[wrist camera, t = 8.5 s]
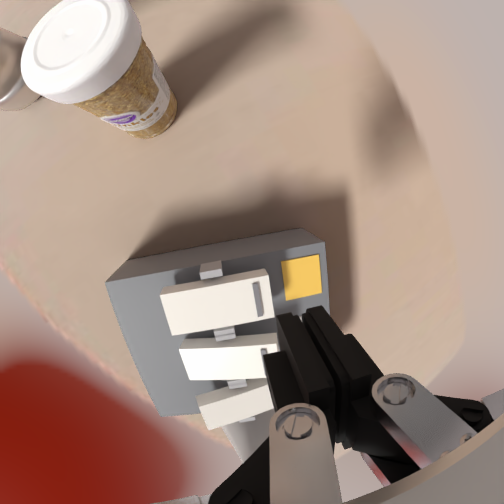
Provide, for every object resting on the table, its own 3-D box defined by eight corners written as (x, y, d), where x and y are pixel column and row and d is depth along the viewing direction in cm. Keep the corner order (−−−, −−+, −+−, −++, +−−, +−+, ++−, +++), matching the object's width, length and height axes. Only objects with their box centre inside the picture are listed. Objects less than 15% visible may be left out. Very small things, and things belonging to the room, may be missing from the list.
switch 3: (195, 395, 18) (199, 408, 16) (275, 369, 19) (283, 379, 18) (204, 419, 18) (209, 431, 17) (279, 394, 20) (286, 404, 19)
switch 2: (184, 338, 18) (178, 350, 16) (276, 332, 17) (276, 345, 16) (194, 369, 18) (189, 381, 17) (281, 364, 18) (280, 378, 16)
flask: (273, 377, 26) (298, 458, 16) (291, 419, 28) (314, 490, 18) (203, 398, 25) (203, 480, 16) (230, 437, 27) (238, 509, 18)
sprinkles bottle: (129, 148, 19) (20, 118, 6) (115, 97, 18) (16, 26, 5) (186, 126, 19) (140, 50, 6) (170, 74, 18) (121, -33, 5)
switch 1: (163, 287, 16) (159, 296, 15) (264, 268, 17) (268, 275, 15) (174, 325, 17) (171, 336, 15) (270, 308, 17) (275, 318, 16)
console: (126, 259, 21) (95, 291, 15) (304, 226, 22) (337, 246, 16) (167, 380, 24) (158, 430, 18) (315, 353, 25) (340, 398, 19)
